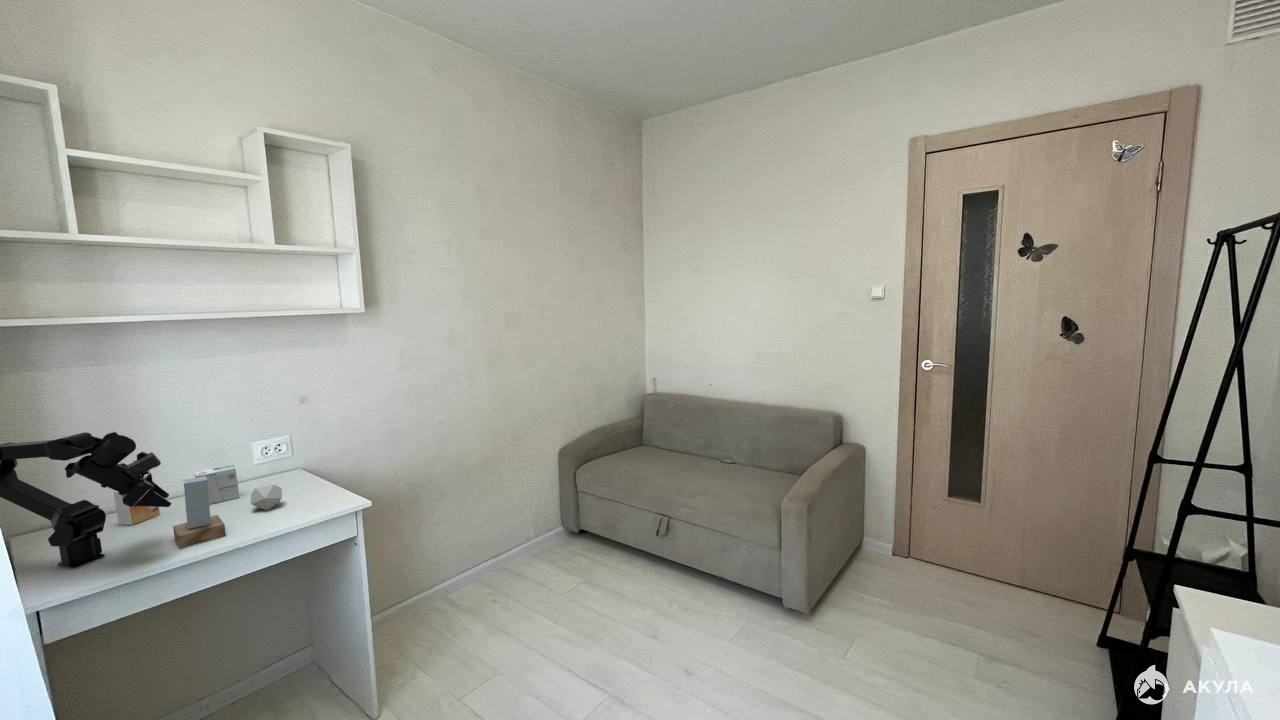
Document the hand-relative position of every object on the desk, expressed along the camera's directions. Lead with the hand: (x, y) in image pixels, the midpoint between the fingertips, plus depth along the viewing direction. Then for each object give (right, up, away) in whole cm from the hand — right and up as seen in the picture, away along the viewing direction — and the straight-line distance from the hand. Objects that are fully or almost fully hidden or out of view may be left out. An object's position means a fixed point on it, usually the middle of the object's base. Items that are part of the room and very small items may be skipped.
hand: (169, 500), depth 144 cm
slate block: (+4, -8, +5) cm, 10 cm away
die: (+9, -9, +25) cm, 29 cm away
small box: (-25, -11, +18) cm, 33 cm away
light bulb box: (-13, -9, +33) cm, 36 cm away
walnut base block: (+4, -12, +5) cm, 14 cm away
